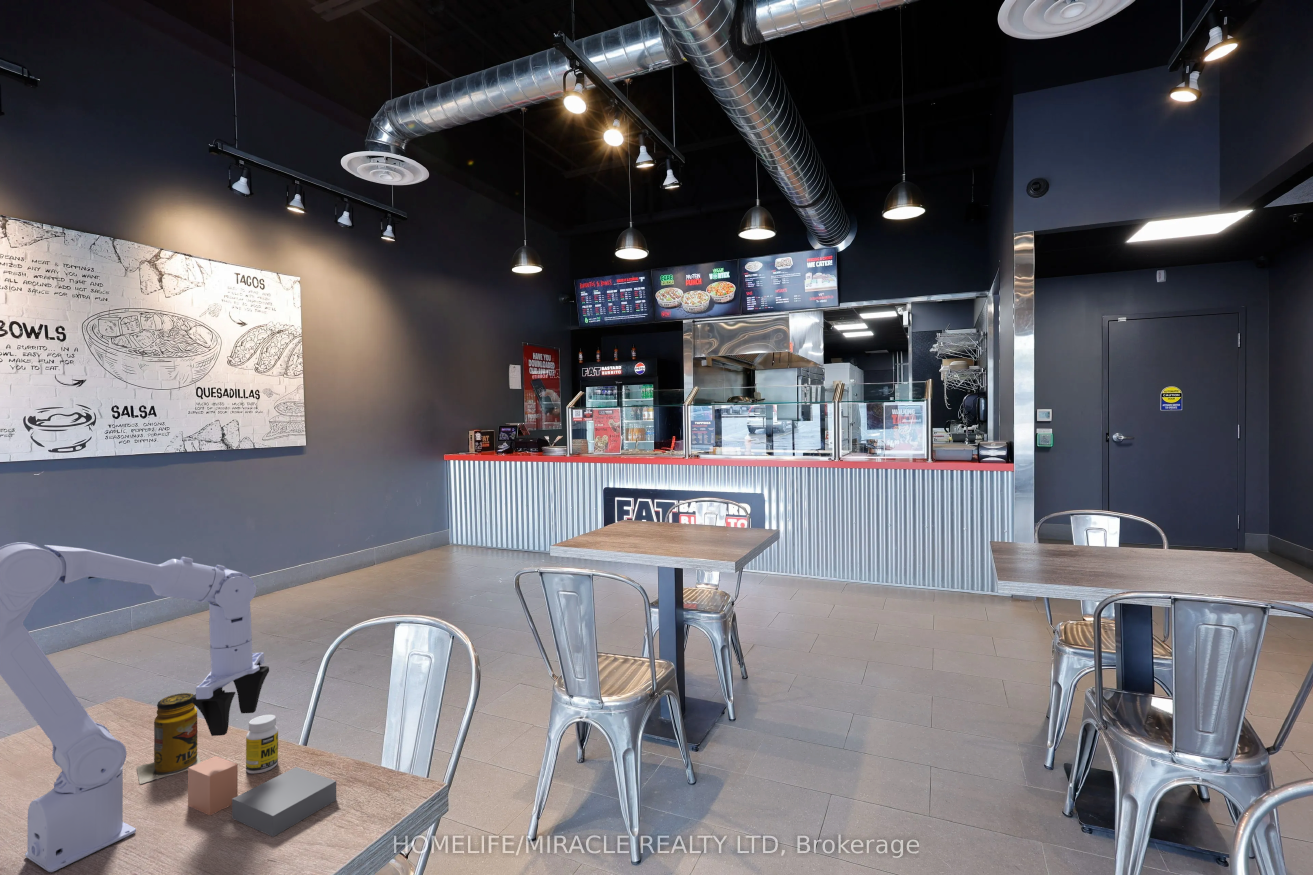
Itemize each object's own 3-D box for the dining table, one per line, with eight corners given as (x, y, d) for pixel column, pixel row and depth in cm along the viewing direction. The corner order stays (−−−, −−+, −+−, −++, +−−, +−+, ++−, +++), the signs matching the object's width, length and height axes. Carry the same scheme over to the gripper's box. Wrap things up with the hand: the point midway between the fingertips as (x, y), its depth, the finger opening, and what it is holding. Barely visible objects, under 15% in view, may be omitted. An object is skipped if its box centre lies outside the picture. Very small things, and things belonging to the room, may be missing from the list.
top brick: (209, 815, 92) (209, 776, 92) (188, 805, 95) (188, 767, 95) (237, 801, 96) (237, 763, 96) (215, 792, 99) (215, 755, 99)
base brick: (273, 836, 87) (272, 815, 87) (232, 818, 92) (232, 798, 92) (336, 799, 96) (336, 780, 96) (296, 784, 100) (296, 766, 101)
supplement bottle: (262, 775, 103) (262, 726, 103) (239, 773, 104) (239, 724, 104) (284, 761, 108) (284, 714, 108) (262, 758, 109) (262, 712, 109)
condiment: (202, 766, 107) (202, 698, 107) (139, 785, 101) (139, 713, 101) (196, 751, 112) (196, 686, 112) (136, 768, 106) (136, 700, 106)
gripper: (227, 657, 94) (230, 743, 94) (280, 627, 108) (283, 702, 109) (180, 659, 94) (183, 746, 94) (240, 628, 108) (242, 704, 108)
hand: (234, 722), depth 101 cm, fingers open, 7 cm apart
